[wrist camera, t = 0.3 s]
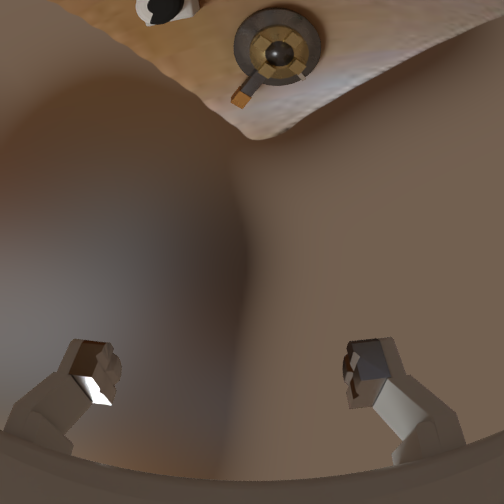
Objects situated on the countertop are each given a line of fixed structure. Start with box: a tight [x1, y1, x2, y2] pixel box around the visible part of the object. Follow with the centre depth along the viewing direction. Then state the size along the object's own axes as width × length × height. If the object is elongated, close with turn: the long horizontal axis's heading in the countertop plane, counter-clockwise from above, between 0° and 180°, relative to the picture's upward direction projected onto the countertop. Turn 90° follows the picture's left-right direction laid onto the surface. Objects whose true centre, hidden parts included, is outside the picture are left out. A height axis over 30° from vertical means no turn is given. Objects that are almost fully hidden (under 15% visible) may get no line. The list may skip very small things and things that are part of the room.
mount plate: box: [234, 8, 321, 86], centre depth 44 cm, size 14×14×3 cm
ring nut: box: [231, 24, 309, 109], centre depth 44 cm, size 16×9×4 cm, turn 145°
